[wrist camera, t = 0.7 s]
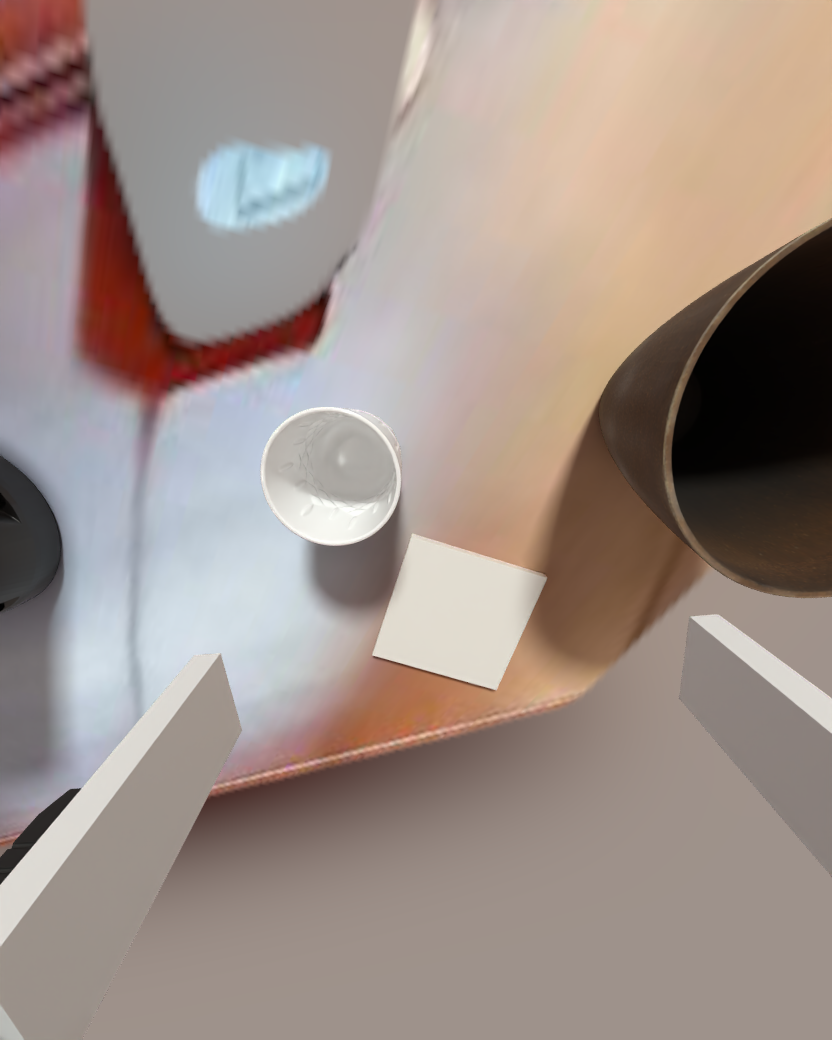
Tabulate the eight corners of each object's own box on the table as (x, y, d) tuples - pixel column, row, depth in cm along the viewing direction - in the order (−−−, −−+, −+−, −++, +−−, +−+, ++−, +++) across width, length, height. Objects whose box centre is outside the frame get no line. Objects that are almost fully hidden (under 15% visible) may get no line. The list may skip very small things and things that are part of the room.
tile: (373, 649, 37) (372, 655, 37) (411, 533, 34) (411, 536, 33) (494, 684, 38) (496, 690, 38) (544, 574, 35) (547, 578, 34)
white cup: (420, 420, 31) (418, 432, 22) (392, 514, 34) (380, 561, 24) (320, 390, 31) (274, 388, 21) (300, 487, 33) (249, 524, 23)
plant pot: (726, 503, 33) (992, 599, 17) (540, 505, 33) (640, 601, 18) (771, 296, 28) (1181, 180, 13) (556, 301, 29) (706, 195, 13)
